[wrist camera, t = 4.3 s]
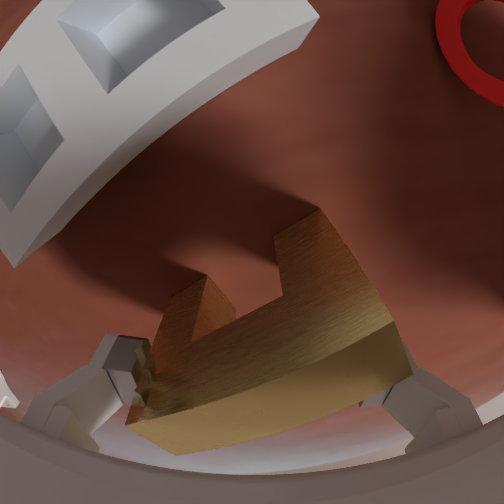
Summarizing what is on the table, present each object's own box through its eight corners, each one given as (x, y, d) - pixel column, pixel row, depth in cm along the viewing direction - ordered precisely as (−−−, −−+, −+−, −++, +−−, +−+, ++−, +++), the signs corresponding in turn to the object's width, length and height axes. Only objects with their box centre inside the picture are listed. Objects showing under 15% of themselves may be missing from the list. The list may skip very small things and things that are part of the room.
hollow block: (297, 48, 9) (319, 16, 6) (60, 231, 12) (14, 268, 9) (204, -54, 7) (189, -101, 3) (-1, 136, 10) (-52, 150, 6)
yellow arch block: (343, 250, 13) (413, 374, 6) (199, 328, 15) (175, 455, 8) (320, 208, 12) (393, 320, 5) (170, 297, 14) (124, 425, 7)
